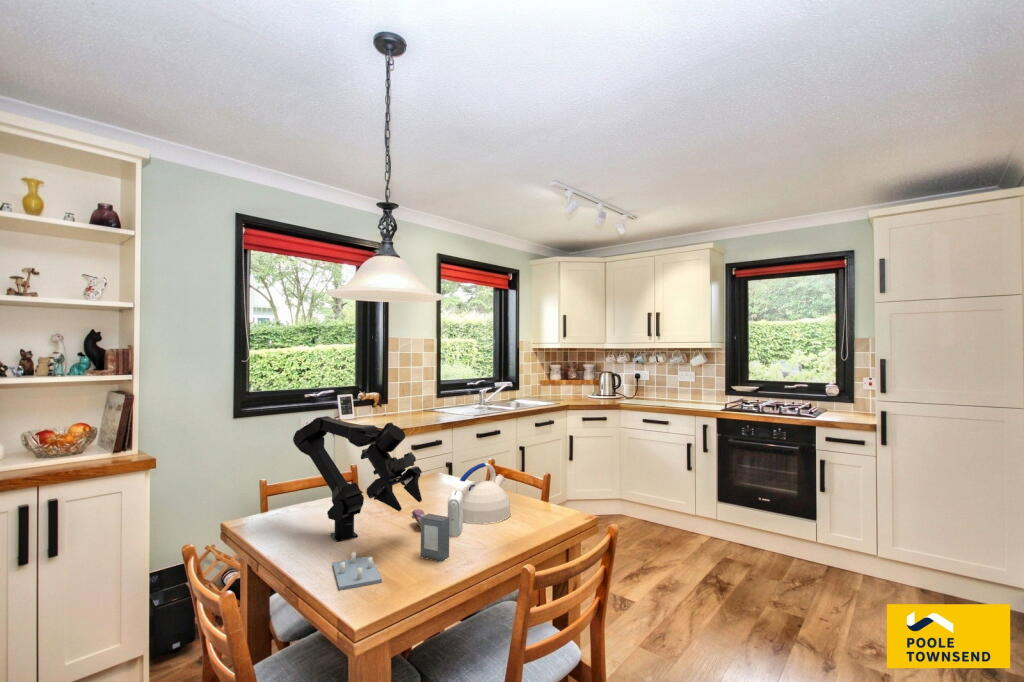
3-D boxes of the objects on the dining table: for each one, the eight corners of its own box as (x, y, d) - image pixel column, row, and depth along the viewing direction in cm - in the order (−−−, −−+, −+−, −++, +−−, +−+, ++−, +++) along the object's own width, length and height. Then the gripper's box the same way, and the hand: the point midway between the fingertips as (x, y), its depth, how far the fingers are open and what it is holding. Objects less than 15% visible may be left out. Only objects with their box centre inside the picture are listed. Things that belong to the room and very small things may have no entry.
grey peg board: (332, 565, 129) (332, 552, 129) (371, 558, 133) (371, 546, 133) (339, 590, 115) (339, 576, 115) (381, 582, 120) (382, 568, 120)
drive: (420, 557, 134) (420, 517, 135) (428, 552, 138) (428, 513, 138) (441, 562, 131) (441, 521, 132) (448, 557, 135) (449, 517, 135)
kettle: (523, 514, 172) (523, 463, 172) (480, 529, 157) (481, 473, 157) (484, 502, 185) (484, 454, 186) (441, 514, 170) (441, 463, 171)
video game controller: (416, 527, 162) (407, 509, 161) (428, 519, 164) (419, 502, 162) (425, 537, 153) (415, 519, 152) (437, 528, 155) (428, 510, 154)
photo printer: (460, 536, 150) (460, 496, 150) (446, 536, 150) (446, 496, 150) (463, 525, 160) (464, 487, 160) (450, 525, 160) (451, 487, 160)
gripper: (376, 450, 132) (406, 497, 127) (418, 439, 149) (446, 481, 144) (353, 475, 136) (382, 522, 131) (396, 461, 152) (424, 503, 147)
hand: (410, 505), depth 138 cm, fingers open, 9 cm apart
